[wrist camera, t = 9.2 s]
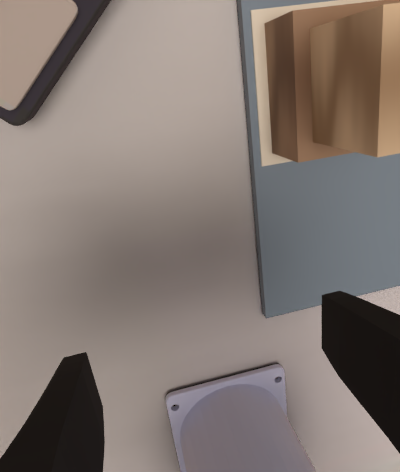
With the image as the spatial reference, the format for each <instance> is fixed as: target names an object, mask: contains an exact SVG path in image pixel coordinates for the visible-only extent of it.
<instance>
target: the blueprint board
mask: <svg viewBox="0 0 400 472" xmlns="http://www.w3.org/2000/svg"><path fill="white" fill-rule="evenodd" d="M371 1H379V0H237V8H238V20H239V33H240V45H241V57H242V69H243V81H244V94H245V106H246V118H247V130H248V142H249V155H250V167H251V179H252V191H253V203H254V216H255V228H256V240H257V252H258V264H259V276H260V289H261V301H262V313H263V315H264V316H265V318H269V317H273V316H278V315H282V314H286V313H290V312H294V311H298V310H302V309H306V308H310V307H314V306H318V305H322V295H324V294H328V293H332V292H336V291H342V292H345V293H348V294H351V295H353V296H359V295H363V294H367V293H371V292H376V291H380V290H384V289H388V288H392V287H396V286H400V153H398V154H393V155H388V156H383V157H373V156H369V155H365V154H361V153H356V152H354V153H349V154H343V155H338V156H332V157H327V158H321V159H316V160H310V161H305V162H299V163H297V162H295V161H292V160H289V159H287V158H284V157H281V156H278V155H276V154H273V153H272V141H271V125H270V108H269V91H268V75H267V58H266V42H265V25H264V23H267V22H269V21H271V20H273V19H275V18H277V17H280V16H282V15H284V14H286V13H288V12H291V11H293V10H302V9H310V8H319V7H328V6H336V5H345V4H353V3H362V2H371Z"/></svg>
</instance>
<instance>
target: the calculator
mask: <svg viewBox="0 0 400 472" xmlns="http://www.w3.org/2000/svg"><path fill="white" fill-rule="evenodd" d="M110 1H111V0H0V118H1V119H3V120H4V121H6V122H8V123H9V124H11V125H15V126H19V125H22V124H24V123H26V122H27V121H29V120H30V119H32V118H33V117H34V116H35V114H36V113H37V111H38V110H39V108H40V107H41V105H42V104H43V102H44V101H45V99H46V98H47V96H48V95H49V93H50V92H51V90H52V89H53V87H54V86H55V84H56V83H57V81H58V80H59V78H60V77H61V75H62V74H63V72H64V71H65V69H66V67H67V66H68V64H69V63H70V61H71V60H72V58H73V57H74V55H75V54H76V52H77V51H78V49H79V48H80V46H81V45H82V43H83V42H84V40H85V39H86V37H87V36H88V34H89V33H90V31H91V30H92V28H93V27H94V25H95V24H96V22H97V21H98V19H99V17H100V16H101V14H102V13H103V11H104V10H105V8H106V7H107V5H108V4H109V2H110Z"/></svg>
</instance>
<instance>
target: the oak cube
mask: <svg viewBox="0 0 400 472" xmlns="http://www.w3.org/2000/svg"><path fill="white" fill-rule="evenodd" d="M310 44H311V88H312V132H313V142H314V143H319V144H323V145H327V146H331V147H335V148H340V149H344V150H348V151H352V152H356V153H361V154H365V155H369V156H373V157H383V156H388V155H393V154H398V153H400V3H392V4H384V5H381V6H377V7H374V8H371V9H368V10H365V11H362V12H359V13H356V14H353V15H350V16H347V17H344V18H341V19H338V20H335V21H332V22H329V23H326V24H322V25H319V26H316V27H313V28H310Z"/></svg>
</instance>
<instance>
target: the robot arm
mask: <svg viewBox="0 0 400 472" xmlns="http://www.w3.org/2000/svg"><path fill="white" fill-rule="evenodd" d="M322 349H323V351H324V353H325V354H326V356H327V358H328V359H329V361H330V363H331V364H332V366H333V368H334V369H335V371H336V372H337V374H338V376H339V377H340V378H341V380H342V381H343V382H344V383H345V385H346V386H347V387H348V388H349V390H350V391H351V392H352V394H353V395H354V396H355V397H356V399H357V400H358V401H359V402H360V404H361V405H362V406H363V407H364V409H365V410H366V411H367V412H368V413H369V415H370V416H371V417H372V418H373V420H374V421H375V422H376V423H377V425H378V426H379V427H380V428H381V430H382V431H383V432H384V433H385V435H386V436H387V437H388V438H389V440H390V441H391V442H392V444H393V445H394V446H395V448H396V449H397V450H398V452H399V453H400V315H398V314H396V313H393V312H391V311H389V310H386V309H384V308H382V307H379V306H377V305H375V304H372V303H370V302H368V301H365V300H363V299H360V298H358V297H356V296H353V295H351V294H348V293H345V292H342V291H336V292H332V293H328V294H324V295H322ZM276 377H278V378H277V379H275V378H276ZM165 400H166V405H167V410H168V415H169V420H170V424H171V429H172V434H173V438H174V443H175V448H176V452H177V457H178V462H179V466H180V471H181V472H316V470H315V468H314V466H313V464H312V462H311V461H310V459H309V457H308V455H307V453H306V451H305V450H304V448H303V446H302V444H301V442H300V440H299V439H298V437H297V435H296V433H295V431H294V429H293V428H292V426H291V424H290V422H289V420H288V418H287V405H286V389H285V372H284V369H283V367H282V366H281V365H279V364H275V365H271V366H267V367H264V368H260V369H256V370H252V371H248V372H245V373H241V374H237V375H233V376H230V377H226V378H222V379H218V380H215V381H211V382H207V383H203V384H199V385H196V386H192V387H188V388H184V389H181V390H177V391H173V392H170V393H169V394H167V396H166V398H165ZM176 404H177V406H173V405H176ZM104 442H105V441H104V421H103V406H102V403H101V399H100V396H99V393H98V389H97V386H96V383H95V379H94V376H93V373H92V370H91V366H90V363H89V360H88V356H87V353H86V352H85V353H81V354H77V355H73V356H69V357H64V359H63V360H62V361H61V363H60V365H59V366H58V368H57V370H56V372H55V374H54V375H53V377H52V379H51V381H50V382H49V384H48V386H47V388H46V389H45V391H44V393H43V394H42V396H41V398H40V399H39V401H38V403H37V404H36V406H35V408H34V409H33V411H32V412H31V414H30V416H29V417H28V419H27V420H26V422H25V424H24V425H23V427H22V428H21V430H20V431H19V433H18V434H17V435H16V437H15V438H14V440H13V441H12V443H11V444H10V446H9V447H8V449H7V450H6V452H5V453H4V454H3V456H2V457H1V458H0V472H103V460H104Z"/></svg>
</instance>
